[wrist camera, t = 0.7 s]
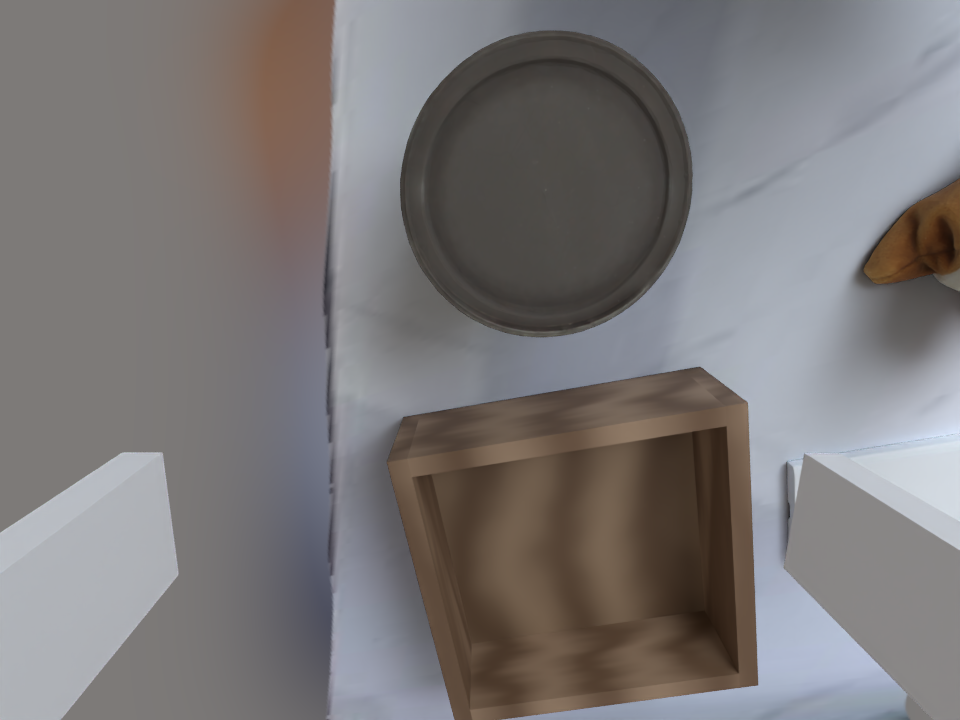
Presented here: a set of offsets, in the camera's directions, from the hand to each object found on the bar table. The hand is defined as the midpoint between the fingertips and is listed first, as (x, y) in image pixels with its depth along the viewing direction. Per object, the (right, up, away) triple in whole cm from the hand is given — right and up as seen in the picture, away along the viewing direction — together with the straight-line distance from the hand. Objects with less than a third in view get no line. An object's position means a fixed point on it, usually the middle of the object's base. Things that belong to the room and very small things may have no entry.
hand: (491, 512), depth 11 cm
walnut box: (+6, -9, +27) cm, 29 cm away
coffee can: (+2, +13, +21) cm, 25 cm away
